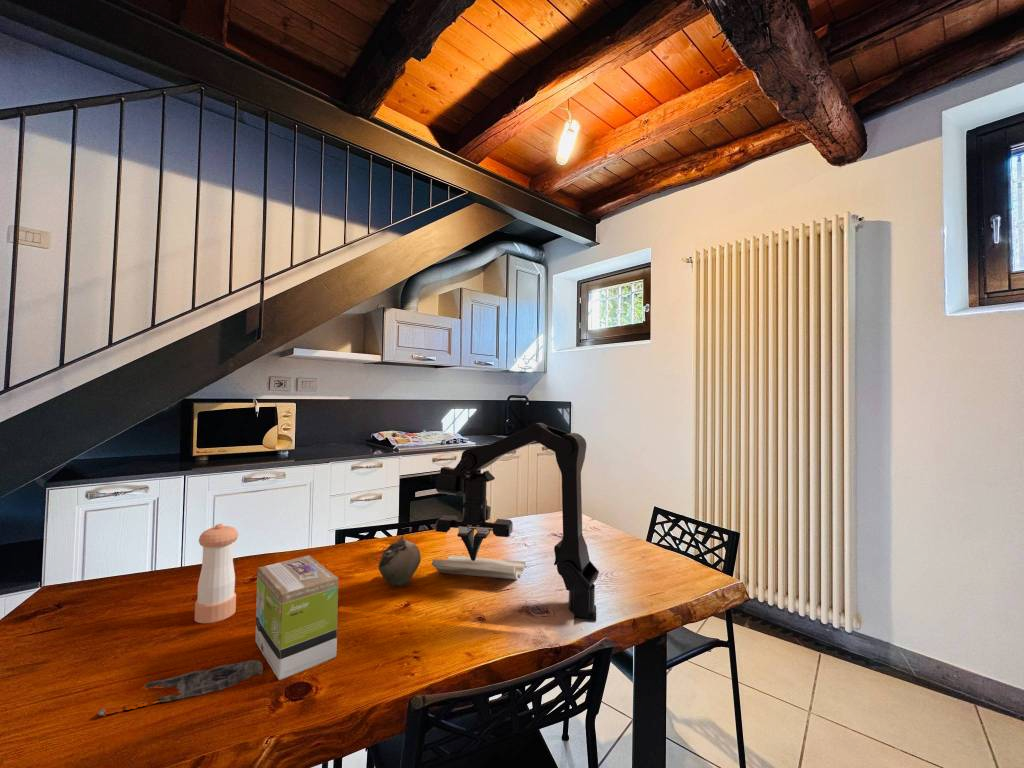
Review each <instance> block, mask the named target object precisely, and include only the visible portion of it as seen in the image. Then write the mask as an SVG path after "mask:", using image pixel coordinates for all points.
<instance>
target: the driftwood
mask: <svg viewBox="0 0 1024 768" xmlns="http://www.w3.org/2000/svg"><path fill="white" fill-rule="evenodd" d="M263 674H264V666H263V663H262V662H261V661H260V660H259V659H250V660H247V661H240V662H236V663H230V664H223V665H219V666H216V667H215V666H214V667H213V668H211V669H203V670H193V671H190V672H187V673H184V674H181V675H177V676H174V677H168V678H166V679H160V680H154V681H149V682H147V683H146V686H145V687H146V688H148V687H149V688H150V687H154V686H158V687H161V686H162V687H166V688H165V689H168V688H172V687H175V689H178V694H179V695H169V694H168V695H166V696H165V695H164V696H162V697H158V698H157V699H155V701H161V702H162V703H165V702H172V701H176V700H181V699H185V698H190V697H195V696H200V695H204V694H209V693H212V692H218V691H224V689H225V688H231V687H232V686H236V685H238V683H239V682H241V681H245V680H246V679H249V678H251V677H253V676H256V675H263ZM167 687H168V688H167ZM145 702H146V701H145ZM145 702H144V703H145ZM144 703H143V704H144ZM127 708H128V707H127ZM105 710H107V709H106V708H102V709H101V710H99V711H98V713H97V714H98V715H99V716H101V715H102V714H104V712H105ZM102 716H103V715H102Z"/></svg>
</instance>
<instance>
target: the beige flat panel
mask: <svg viewBox="0 0 1024 768" xmlns="http://www.w3.org/2000/svg"><path fill="white" fill-rule="evenodd" d="M446 560H451V561H462V562H473V563H484V564H495V565H506V566H514V567H515V569H516V571H517V573H518V578H522V577H521V576H522V575H523V571H524V568H525V566H526V561H521V560H520V561H519V560H509V559H508V560H507V559H499V558H498V559H496V558H485V557H476V560H475V561H472V560H471V558H470V556H464V555H452V554H451V555H449V556H447V559H446Z"/></svg>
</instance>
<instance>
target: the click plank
mask: <svg viewBox="0 0 1024 768" xmlns="http://www.w3.org/2000/svg"><path fill="white" fill-rule="evenodd" d="M431 566H432V567H433V568H435V569H436V571H438V572H439V573H444V574H452V575H463V576H464V575H465V576H472V577H473V576H474V577H476V576H477V577H483V578H486V577H487V578H493V579H505V580H516V581H518V578H519V577H518V573H517V571H516V569H515V567H514V566H506V565H495V564H484V563H473V562H462V561H451V560H447V559H438V558H432V562H431Z"/></svg>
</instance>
